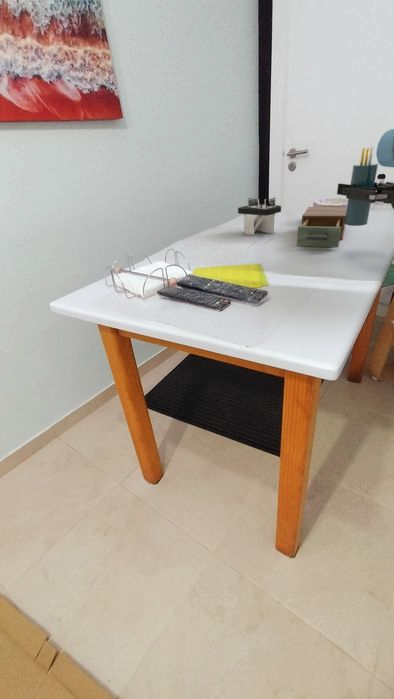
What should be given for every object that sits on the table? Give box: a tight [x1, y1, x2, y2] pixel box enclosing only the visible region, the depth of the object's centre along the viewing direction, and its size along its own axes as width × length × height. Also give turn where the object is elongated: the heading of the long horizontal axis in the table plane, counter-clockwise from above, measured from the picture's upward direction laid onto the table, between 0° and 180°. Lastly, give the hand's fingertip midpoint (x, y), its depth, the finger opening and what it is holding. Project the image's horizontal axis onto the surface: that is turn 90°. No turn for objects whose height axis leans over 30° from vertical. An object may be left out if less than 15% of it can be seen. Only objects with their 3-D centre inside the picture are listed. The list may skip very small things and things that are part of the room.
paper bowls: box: [312, 197, 348, 207], centre depth 135 cm, size 15×15×8 cm
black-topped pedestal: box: [237, 196, 282, 236], centre depth 126 cm, size 28×26×13 cm
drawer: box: [296, 218, 341, 248], centre depth 109 cm, size 19×13×6 cm
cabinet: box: [300, 206, 347, 241], centre depth 120 cm, size 16×14×8 cm
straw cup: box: [345, 145, 379, 227], centre depth 92 cm, size 6×6×19 cm
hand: (348, 187), depth 96 cm, fingers closed on straw cup, 6 cm apart
